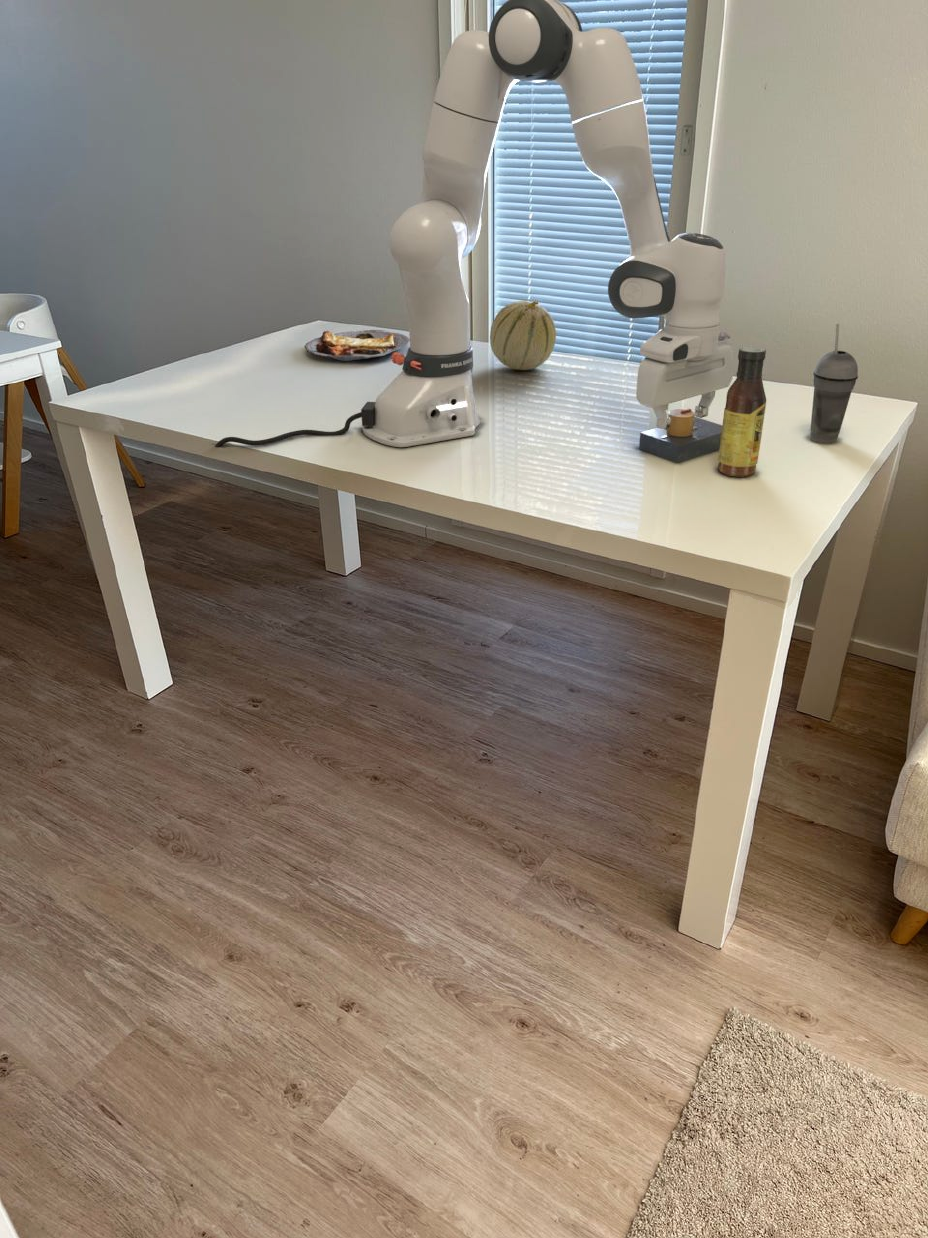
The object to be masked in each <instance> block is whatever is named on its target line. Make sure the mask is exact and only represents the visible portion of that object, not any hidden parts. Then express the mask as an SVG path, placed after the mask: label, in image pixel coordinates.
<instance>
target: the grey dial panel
mask: <svg viewBox="0 0 928 1238" xmlns="http://www.w3.org/2000/svg"><path fill="white" fill-rule="evenodd" d="M722 425H723V424H719V423H716V422H713V421H710V420H707V419H703V418H699V417H696V416H695V417H694V425H693V434H692V435H690V436H687V437H675V436H671V435H669V434H667V428H666V429H660V428H658V427H655V428H651V429H648V430H645V431H641V432H640V433H639V444H638V449H639V450H641V451H643V452H647V453H649V454H652V455H655V456H657V457H659V458H663V459H664V460H668V461H671V462H674V463H675V464H679V463H682V462H685V461H689V460H691V459H694V458H698V457H701V456H705V455H707V454H710V453H713V452H715V451H719V450H720V441H721V433H722Z"/></svg>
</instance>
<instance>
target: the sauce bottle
mask: <svg viewBox="0 0 928 1238" xmlns="http://www.w3.org/2000/svg"><path fill="white" fill-rule="evenodd" d="M766 354H767V350H766V348H764V347H760V346H742V347H739V349H738V354H737V360H738V365H737V371H736V378H735V380H734V382H732V383H731V384H730V385H729V388H728V390H727V392H726V400H725V407H724V409H723V410H724V412H723V419H722V424H721V425H722V433H721V441H720V449H719V450H718V451H719V452H718V459H717V461H718V466H717V468H718V471H719V472H720V473H722V474H723V475H725V476H730V477H739V478H740V477H741V478H743V477H748V476H752V475H753V474H755V472H756V469H757V464H758V462H759V455H760V447H761V441H762V435H763V428H764V422H765V421H764V420H765V414H766V407H767V395H766V392H765V388H764V387H765V386H764V383H763V368H764V361H765V359H766V356H767V355H766Z"/></svg>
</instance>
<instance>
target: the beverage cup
mask: <svg viewBox="0 0 928 1238" xmlns="http://www.w3.org/2000/svg"><path fill="white" fill-rule="evenodd" d="M839 335H840V323H836V324H835V335H834V350H833V351H830V352H827V353H826V354H824V355H823V356H822V357H821V358H820V359H819V360H818V362H817V364H816V367H815V369H814V371H813V398H812V409H811V418H810V419H811V420H810V436H809V439H810V441H812V442H814V443H816V444H823V445H831V444H835V443H837V441H838V438H839V435H840V432H841V429H842V426H843V422H844V419H845V415H846V412H847V410H848V409H847V408H848V405H849V402H850V398H851V395H852V391H853V390H854V388H855V386H856V382H857V380H858V378H859V374H858V373H859V366H858V362H857V361H856V359H855V357H854V356H853V355H852V354H850V353H849V352H847V351H844V350H839Z"/></svg>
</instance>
